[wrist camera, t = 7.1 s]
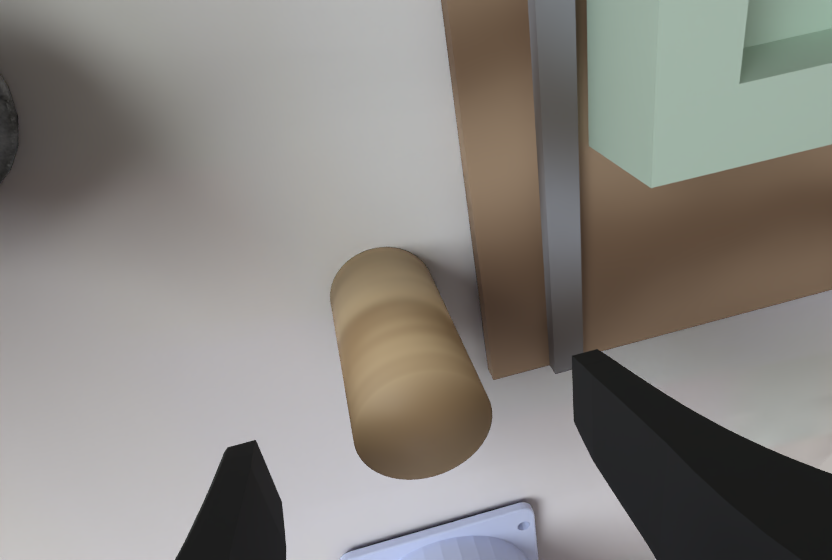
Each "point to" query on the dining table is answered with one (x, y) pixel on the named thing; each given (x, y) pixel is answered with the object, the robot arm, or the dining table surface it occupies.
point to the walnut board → (606, 205)
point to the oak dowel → (405, 368)
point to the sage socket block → (707, 83)
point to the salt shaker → (7, 130)
